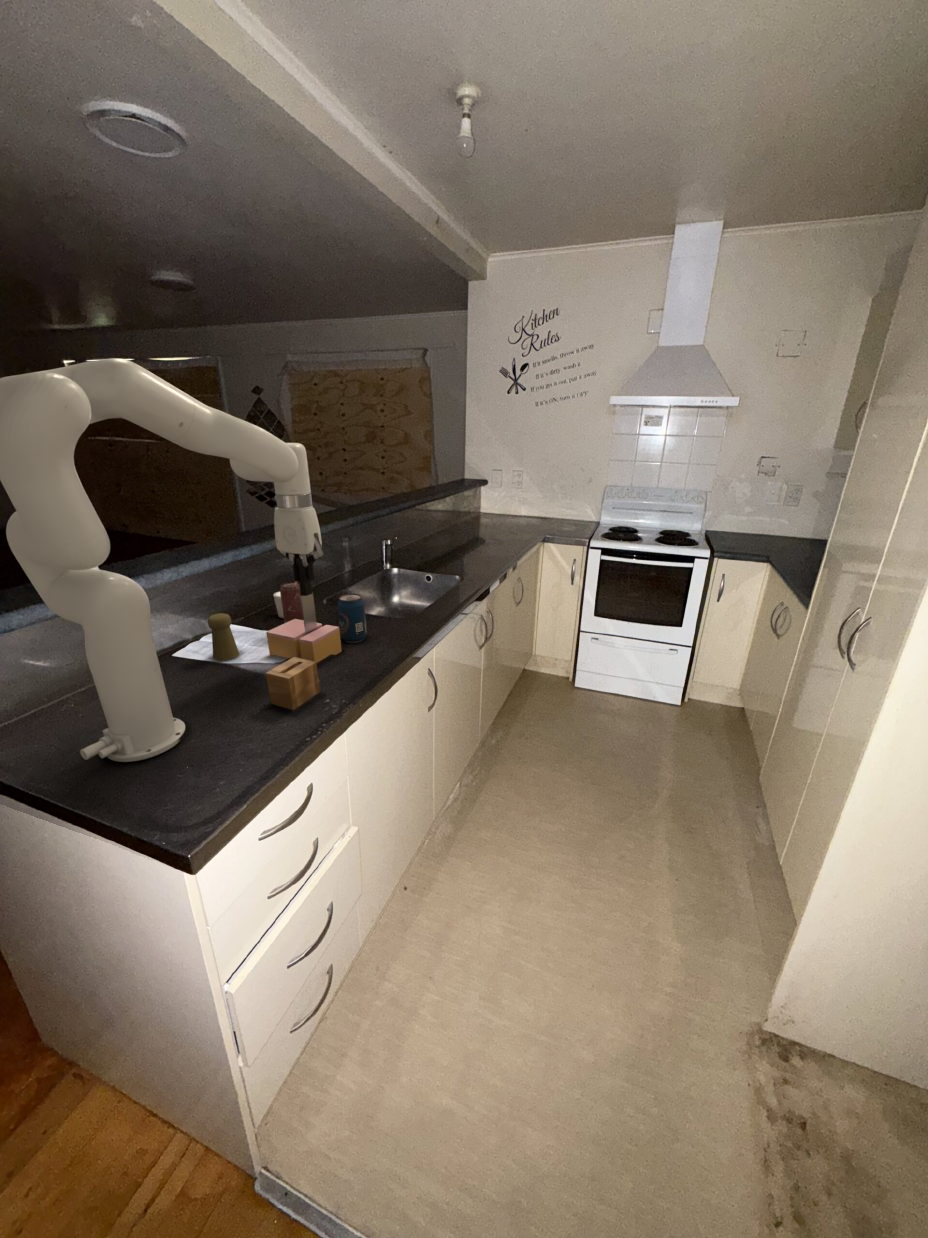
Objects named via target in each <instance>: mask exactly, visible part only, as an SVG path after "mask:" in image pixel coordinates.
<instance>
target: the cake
mask: <svg viewBox="0 0 928 1238" xmlns="http://www.w3.org/2000/svg"><path fill="white" fill-rule="evenodd" d="M321 627H323V623H320V622H317V629H319V628H321ZM265 634H266V640H267V646H268V652H269V657H272V656H273V655H274V656H277V657H278V656H279V657H283V658H287V659H291V658H293V657H297V658H301V659H302V657H301V650H300V643H299V639H300V638H302V637H304V636H305V635H306V634H305V627H304V620H299V619H293V620H291V621H289V622H287V623H285V622H284V623H283V624H280V625H278V626H276V627H274V628H271V629H269V630H267V631H266V633H265Z"/></svg>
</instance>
